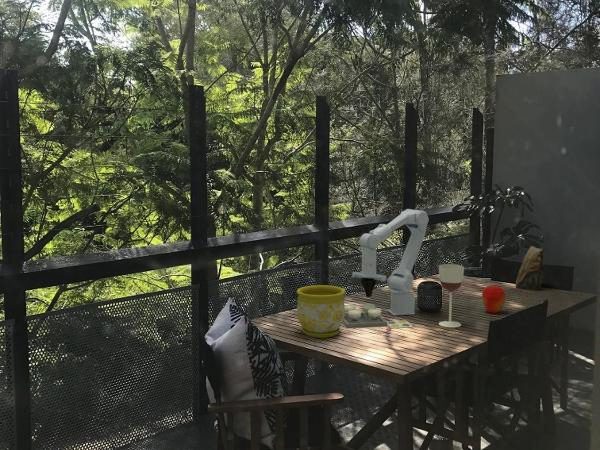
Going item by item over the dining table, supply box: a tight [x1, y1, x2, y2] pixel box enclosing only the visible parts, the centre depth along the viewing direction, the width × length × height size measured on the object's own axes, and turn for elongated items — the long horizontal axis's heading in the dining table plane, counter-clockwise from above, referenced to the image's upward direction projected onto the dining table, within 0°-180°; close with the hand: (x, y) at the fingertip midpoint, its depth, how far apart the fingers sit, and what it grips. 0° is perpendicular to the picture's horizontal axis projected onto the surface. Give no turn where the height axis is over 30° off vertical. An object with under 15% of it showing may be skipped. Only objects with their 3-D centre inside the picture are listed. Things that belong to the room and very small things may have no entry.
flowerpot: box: [296, 284, 346, 339], centre depth 238 cm, size 18×18×16 cm
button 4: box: [368, 308, 382, 319], centre depth 250 cm, size 5×5×4 cm
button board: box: [342, 311, 388, 329], centre depth 254 cm, size 16×16×2 cm
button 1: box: [344, 304, 357, 313], centre depth 257 cm, size 5×5×4 cm
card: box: [385, 320, 414, 329], centre depth 249 cm, size 9×9×1 cm
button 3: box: [362, 303, 376, 314], centre depth 258 cm, size 5×5×4 cm
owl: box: [515, 245, 545, 292], centre depth 311 cm, size 13×13×20 cm
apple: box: [481, 285, 506, 314], centre depth 267 cm, size 9×9×12 cm
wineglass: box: [438, 263, 465, 328], centre depth 248 cm, size 9×10×23 cm
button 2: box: [348, 309, 362, 320], centre depth 249 cm, size 5×5×4 cm
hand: (368, 296), depth 258 cm, fingers closed
